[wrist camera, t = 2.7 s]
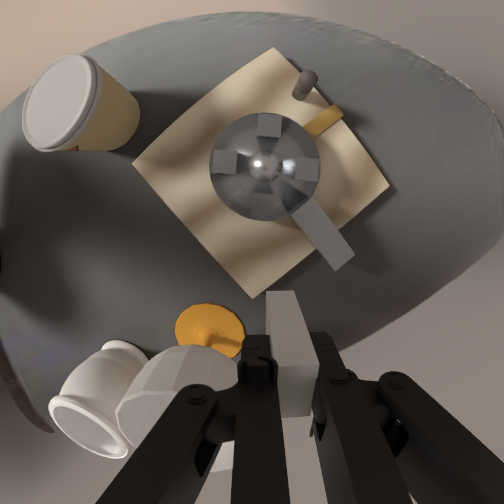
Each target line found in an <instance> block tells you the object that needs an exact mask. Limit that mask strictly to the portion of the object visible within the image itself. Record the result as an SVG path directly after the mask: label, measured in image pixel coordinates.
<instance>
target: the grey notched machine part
mask: <svg viewBox="0 0 504 504" xmlns="http://www.w3.org/2000/svg"><path fill="white" fill-rule="evenodd" d="M320 171H321V164H320V157H319V153H318V149H317V147H316V144H315V143H314V141H313V139H312V137H311V136H310V135H309V133H308V132H307V131H306V130H305V129H304V128H303V127H302V126H301V125H299V124H298V123H297V122H295V121H294V120H292V119H290V118H288V117H285V116H283V115H279V114H275V113H266V112H261V113H253V114H249V115H246V116H243V117H241V118H239V119H237V120H235V121H234V122H232V123H231V124H229V125H228V126H227V127H226V128H225V129H224V130H223V131H222V132H221V133H220V135H219V136H218V138H217V139H216V141H215V143H214V145H213V148H212V151H211V154H210V160H209V172H210V178H211V182H212V185H213V187H214V190H215V191H216V193H217V195H218V197H219V198H220V199H221V200H222V202H223V203H224V204H225V205H226V206H227V207H228V208H230V209H231V210H232V211H234V212H235V213H237V214H239V215H241V216H243V217H245V218H248V219H252V220H257V221H274V220H279V219H283V218H285V217H288V216H290V218H291V219H292V220H293V221H294V223H295V224H296V225H297V226H298V228H299V229H300V230H301V231H302V233H303V234H304V235H305V236H306V238H307V239H308V240H309V241H310V243H311V244H312V245H313V246H314V248H315V249H316V250H317V251H318V253H319V254H320V255H321V257H322V258H323V259H324V260H325V261H326V262H327V263H328V264H329V265H330V266H331V268H332V269H333V270H334V271H336V270H338V269H339V268H340V267H341V266H342V265H344V264H345V263H346V262H347V261H348V260H350V259H351V258H352V257H353V256H354V255H355V253H354V252H353V251H352V249H351V248H350V246H349V245H348V243H347V242H346V241H345V239H344V238H343V237H342V235H341V234H340V232H339V231H338V230H337V228H336V227H335V226H334V224H333V223H332V222H331V220H330V219H329V218H328V216H327V215H326V214H325V212H324V211H323V210H322V208H321V207H320V206H319V204H318V203H317V202H316V201H315V199H314V198H313V197H312V195H313V194H314V192H315V190H316V188H317V185H318V182H319V178H320Z"/></svg>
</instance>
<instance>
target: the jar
mask: <svg viewBox="0 0 504 504" xmlns="http://www.w3.org/2000/svg"><path fill="white" fill-rule="evenodd" d="M148 361H149V360H148V358H147V357H146V356H145V354H144V353H143V352H142V351H141V350H139V349H138V348H137V347H135V346H134V345H132V344H130V343H127V342H124V341H120V340H112V341H109V342H107V343H105V344H104V346H103V347H102V349H101V351H99V352H97V353H95V354H93V355H92V356H90V357H89V358H88V359H87V360H86V361H84V362H83V363H82V364H80V365H79V366H78V367H77V368H76V369H75V370H74V371H73V372H72V373H71V374H70V376H69V377H68V378H67V380H66V382H65V383H64V385H63V387H62V389H61V392H60V394H59V396H55V397H53V398H52V399H51V401H50V403H49V405H48V409H49V413H50V415H51V417H52V419H53V420H54V422H55V423H56V425H57V426H58V427H59V428H60V429H61V430H62V431H63V432H64V433H65V434H66V435H67V436H68V437H69V438H71V439H72V440H73V441H74V442H76V443H77V444H79V445H80V446H82V447H84V448H85V449H87V450H89V451H91V452H93V453H96V454H98V455H101V456H105V457H108V458H123V457H124V456H126V455H127V452H128V449H129V444H128V440H127V439H126V438H125V436H124V435H123V434H122V432H121V431H120V430H119V428H118V424H117V419H116V414H115V411H116V409H117V407H118V405H119V404H120V402H121V400H122V399H123V397H124V395H125V394H126V392H127V390H128V389H129V387H130V385H131V384H132V382H133V380H134V379H135V378H136V376H137V375H138V374H139V372H140V371H141V370H142V369H143V367H144V366H145V365H146V363H147V362H148Z"/></svg>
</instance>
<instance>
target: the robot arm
mask: <svg viewBox="0 0 504 504" xmlns="http://www.w3.org/2000/svg"><path fill="white" fill-rule="evenodd" d="M0 268H1V263H0ZM237 373H238V382H237V383H236V384H235V385H234V386H232V387H230V388H228V389H225V390H220V391H215V390H214V389H212V388H211V387H210V386H207V385H204V384H191V385H188V386H185V387H183V388H182V389H181V390H180V391H179V392H178V393H177V394H176V396H175V397H174V398H173V400H172V401H171V403H170V404H169V405H168V407H167V408H166V410H165V411H164V412H163V414H162V415H161V416H160V418H159V419H158V421H157V422H156V423H155V425H154V426H153V427H152V429H151V430H150V432H149V433H148V434H147V436H146V437H145V438H144V440H143V441H142V442H141V444H140V445H139V446H138V448H137V449H136V450H135V452H134V453H133V455H132V456H131V457H130V458H129V460H128V461H127V463H126V464H125V465H124V466H123V468H122V469H121V470H120V472H119V473H118V475H117V476H116V477H115V478H114V480H113V481H112V482H111V484H110V485H109V486H108V487H107V489H106V490H105V491H104V493H103V494H102V496H101V497H100V498H99V500H97V502H96V503H95V504H194V503H195V501H196V499H197V497H198V495H199V493H200V491H201V489H202V487H203V485H204V483H205V481H206V479H207V476H208V474H209V472H210V470H211V468H212V466H213V464H214V462H215V459H216V457H217V455H218V453H219V451H220V448H221V446H222V443H225V442H230V441H234V454H233V470H232V487H231V504H290V496H289V487H288V476H287V467H286V457H285V448H284V438H283V429H282V420H281V418H288V417H302V416H310V414H311V409H312V410H313V415H314V417H313V421H312V426H311V430H310V437H312V436H313V432H314V437H315V441H316V446H317V451H318V456H319V461H320V466H321V470H322V476H323V481H324V486H325V491H326V496H327V501H328V504H413V503H412V500H411V497H410V495H409V493H410V494H411V496H412V497H413V498H414V499H415V501H416V502H417V503H418V504H504V463H503V462H502V461H501V460H500V459H499V458H498V457H497V456H496V455H495V454H493V452H491V451H490V450H489V449H488V448H487V447H486V446H485V445H484V444H482V442H481V441H480V440H478V439H477V438H476V437H475V436H474V435H473V434H472V433H471V432H470V431H469V430H467V429H466V428H465V427H464V426H463V425H462V424H461V423H460V422H459V421H458V420H456V419H455V418H454V417H453V416H452V415H451V414H450V413H449V412H448V411H447V410H445V409H444V408H443V407H442V406H441V405H440V404H439V403H438V402H437V401H435V400H434V399H433V398H432V397H431V396H430V395H429V394H428V393H426V392H425V391H424V390H423V389H422V388H421V387H420V386H419V385H418V384H417V383H415V382H414V381H413V380H412V379H411V378H410V377H409V376H407V375H406V374H404V373H401V372H395V371H391V372H386V373H385V374H383V375H381V377H380V379H379V381H365V380H360V379H358V377H357V376H356V374H355V373H354V372H352V371H351V370H349V369H346V368H345V366H344V364H343V362H342V359H341V357H340V355H339V353H338V350H337V348H336V346H335V345H334V342H333V340H332V338H331V337H330V336H329V335H328V334H327V333H325V332H308V329H307V327H306V324H305V321H304V318H303V315H302V312H301V310H300V307H299V304H298V301H297V299H296V296H295V293H294V291H266V335H247V336H246V337H245V338H244V339H243V341H242V352H241V360H240V361H239V362H238V365H237ZM397 419H398V420H399V421H400V422H401V423H400V422H399V421H398V420H397Z"/></svg>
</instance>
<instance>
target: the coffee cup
mask: <svg viewBox="0 0 504 504" xmlns="http://www.w3.org/2000/svg"><path fill="white" fill-rule="evenodd" d="M139 120H140V108H139V104H138V102H137V100H136V99H135V98H134V97H133V95H132V94H131V93H130V92H129V91H127V90H126V89H125V88H124V87H123V86H122V85H121V84H120V83H119V82H117V81H116V80H115V79H114V78H113V77H112V76H111V75H110V74H108V73H107V72H106V71H105V70H104V69H103V68H101V67H100V66H99V65H98V64H97V62H96V61H95V60H94V59H93V58H91V57H90V56H88V55H85V54H79V53H77V54H69V55H65V56H62V57H60V58H58V59H56V60H55V61H53V62H52V63H50V64H49V65H48V66H47V67H46V68H45V69H44V70H43V71H42V72H41V73H40V74H39V75H38V77H37V78H36V80H35V81H34V83H33V84H32V86H31V88H30V90H29V92H28V94H27V97H26V100H25V103H24V107H23V112H22V127H23V132H24V135H25V137H26V139H27V140H28V142H29V143H30V144H31V145H32V146H33V147H34V148H35V149H37V150H39V151H42V152H54V151H110V150H115V149H117V148H119V147H121V146H123V145H124V144H125V143H127V142H128V141H129V140H130V138H131V137H132V136H133V134H134V133H135V131H136V129H137V127H138V124H139Z"/></svg>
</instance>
